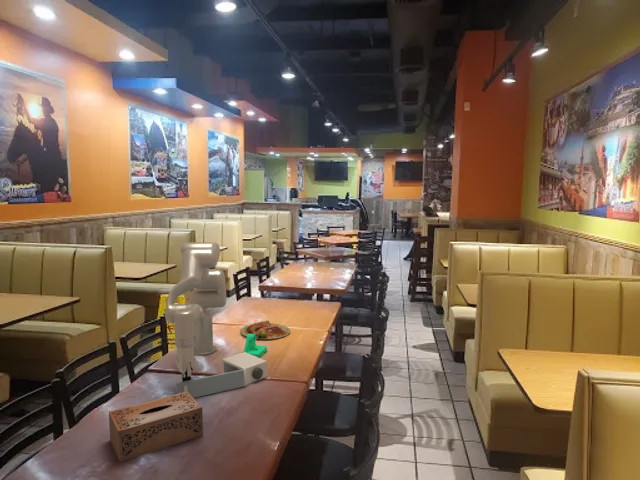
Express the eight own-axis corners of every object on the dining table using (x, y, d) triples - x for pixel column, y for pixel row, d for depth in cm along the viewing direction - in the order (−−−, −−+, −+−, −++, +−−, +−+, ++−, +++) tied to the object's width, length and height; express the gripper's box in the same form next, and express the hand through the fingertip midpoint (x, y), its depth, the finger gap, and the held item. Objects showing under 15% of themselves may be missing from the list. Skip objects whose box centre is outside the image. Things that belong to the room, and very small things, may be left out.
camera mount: (258, 359, 216) (258, 339, 215) (243, 358, 218) (243, 337, 217) (267, 351, 228) (267, 331, 226) (253, 349, 230) (253, 330, 228)
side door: (177, 402, 172) (177, 384, 171) (176, 400, 174) (176, 382, 173) (247, 386, 186) (246, 370, 185) (245, 384, 188) (245, 368, 187)
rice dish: (299, 332, 260) (299, 323, 260) (269, 344, 237) (269, 334, 236) (261, 324, 275) (261, 316, 275) (229, 335, 252) (229, 325, 251)
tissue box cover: (119, 463, 135) (118, 431, 134) (110, 441, 147) (108, 411, 146) (203, 436, 150) (202, 407, 149) (188, 417, 162) (187, 391, 161)
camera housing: (222, 374, 199) (222, 359, 198) (244, 366, 207) (244, 351, 207) (247, 386, 187) (247, 370, 186) (269, 377, 195) (269, 362, 195)
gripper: (171, 337, 180) (173, 381, 182) (179, 348, 167) (181, 396, 169) (190, 334, 184) (192, 377, 186) (199, 345, 171) (201, 391, 173)
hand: (187, 386), depth 178 cm, fingers closed
